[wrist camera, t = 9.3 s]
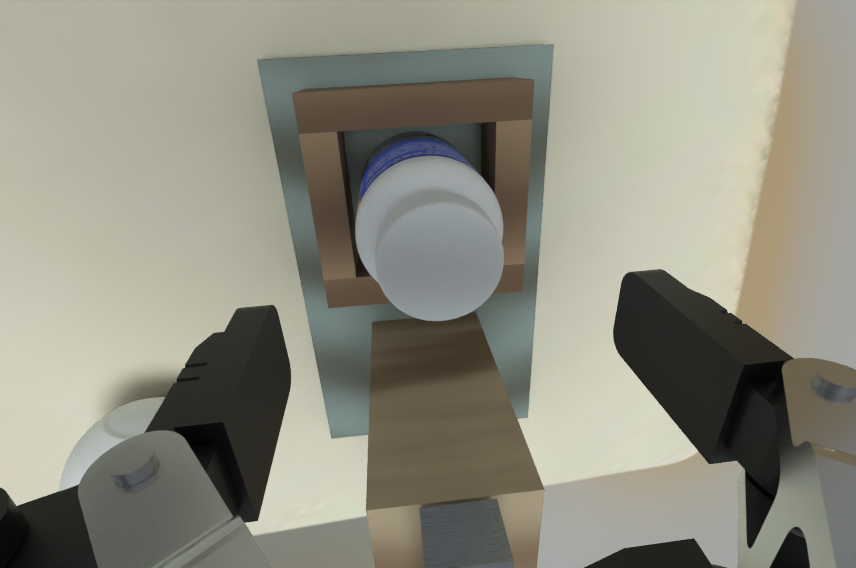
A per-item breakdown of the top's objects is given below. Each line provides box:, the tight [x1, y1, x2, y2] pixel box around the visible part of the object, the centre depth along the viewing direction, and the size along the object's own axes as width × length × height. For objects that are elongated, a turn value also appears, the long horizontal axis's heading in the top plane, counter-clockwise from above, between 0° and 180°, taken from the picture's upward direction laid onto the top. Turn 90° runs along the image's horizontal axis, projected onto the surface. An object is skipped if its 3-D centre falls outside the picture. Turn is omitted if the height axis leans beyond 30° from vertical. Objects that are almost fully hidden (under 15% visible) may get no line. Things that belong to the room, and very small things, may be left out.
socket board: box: [257, 44, 554, 568], centre depth 20 cm, size 22×13×13 cm, turn 3°
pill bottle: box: [355, 132, 504, 321], centre depth 18 cm, size 5×5×10 cm
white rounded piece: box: [60, 397, 166, 491], centre depth 25 cm, size 8×8×8 cm
